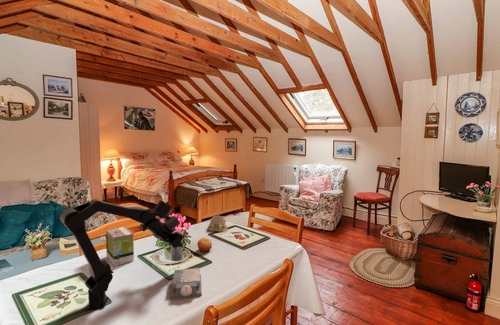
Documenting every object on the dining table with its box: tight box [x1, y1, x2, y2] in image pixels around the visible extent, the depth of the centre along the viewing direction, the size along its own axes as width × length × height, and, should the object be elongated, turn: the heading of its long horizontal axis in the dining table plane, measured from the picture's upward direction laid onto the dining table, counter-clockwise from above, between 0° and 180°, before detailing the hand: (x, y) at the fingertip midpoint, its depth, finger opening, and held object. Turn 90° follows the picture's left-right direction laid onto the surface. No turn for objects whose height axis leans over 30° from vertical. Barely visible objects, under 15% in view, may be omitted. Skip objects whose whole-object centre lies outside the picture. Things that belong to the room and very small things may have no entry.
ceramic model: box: [207, 214, 228, 232], centre depth 187 cm, size 14×11×10 cm
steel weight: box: [170, 230, 183, 262], centre depth 126 cm, size 5×5×12 cm
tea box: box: [105, 226, 135, 267], centre depth 140 cm, size 15×10×15 cm, turn 41°
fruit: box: [197, 237, 213, 253], centre depth 152 cm, size 8×8×8 cm
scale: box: [170, 273, 202, 300], centre depth 114 cm, size 15×12×5 cm
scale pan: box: [172, 267, 201, 289], centre depth 116 cm, size 11×11×2 cm
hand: (179, 244), depth 127 cm, fingers closed on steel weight, 5 cm apart
